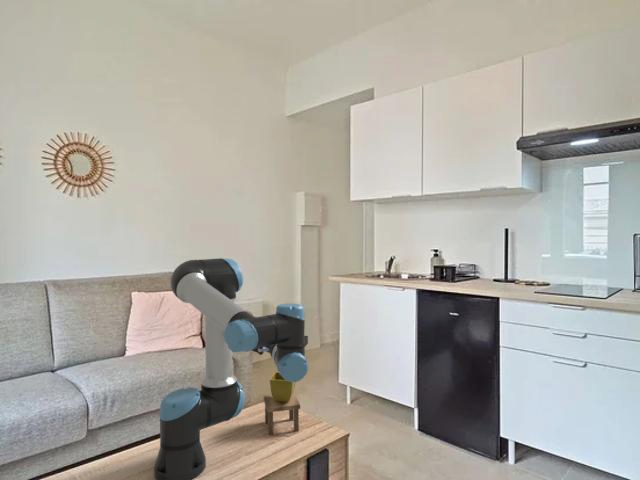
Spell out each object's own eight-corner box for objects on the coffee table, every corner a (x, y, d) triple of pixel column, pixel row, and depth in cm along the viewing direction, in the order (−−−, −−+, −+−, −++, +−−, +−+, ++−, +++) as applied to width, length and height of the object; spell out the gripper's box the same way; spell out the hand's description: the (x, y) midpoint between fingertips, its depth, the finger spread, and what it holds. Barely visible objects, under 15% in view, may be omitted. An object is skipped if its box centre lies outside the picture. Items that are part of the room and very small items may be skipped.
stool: (267, 435, 147) (267, 408, 147) (263, 421, 159) (263, 396, 159) (300, 431, 150) (300, 404, 150) (293, 417, 162) (293, 392, 162)
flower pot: (296, 395, 159) (296, 372, 159) (292, 404, 150) (292, 380, 150) (274, 394, 160) (274, 371, 160) (269, 403, 151) (269, 379, 151)
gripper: (241, 369, 115) (236, 350, 136) (325, 362, 122) (309, 344, 142) (240, 343, 115) (236, 327, 136) (325, 337, 122) (309, 323, 142)
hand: (273, 336), depth 139 cm, fingers open, 13 cm apart
